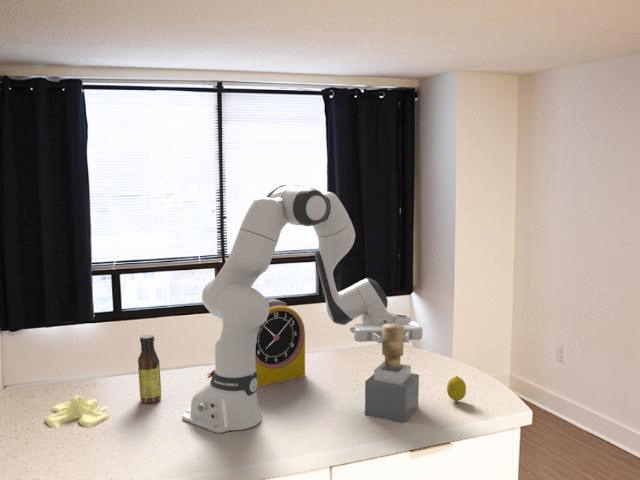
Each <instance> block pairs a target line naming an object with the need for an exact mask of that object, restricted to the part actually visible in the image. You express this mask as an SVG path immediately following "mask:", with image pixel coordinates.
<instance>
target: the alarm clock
mask: <svg viewBox="0 0 640 480" xmlns="http://www.w3.org/2000/svg"><path fill="white" fill-rule="evenodd" d="M267 301H268V303H269V314H268V317H267V319H266V321H265V322H264V323H263V324H262V325H261V326H260V328H259V331H258V335H257V340H256V369H257V387H261V386H264V385H265V386H266V385H269V384H274V383H279V382H283V381H287V379H288V380H291V378H292V379H296V378H300V376H301V377H304V375H306V331H305V330H306V329H305V325H304V322H303V319H302V317H301V316H300V315H299V314H298V312H297V311H296V310H294V309H292V308H291V307H288V306H287V303H286V302H284V301H281V300H279V299H274V298H269V299H267ZM295 377H296V378H295Z"/></svg>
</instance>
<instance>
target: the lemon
mask: <svg viewBox="0 0 640 480" xmlns="http://www.w3.org/2000/svg"><path fill="white" fill-rule="evenodd" d="M446 386H447V387H446V392H447V395H448V397H449V399H451V400H453V402H456V403H458V401H460V400H463V399H464V398H465V396H466V393H467V388H466V387H467V386H466V382H465V381H464V379H462V378H461V377H459V376H456V375H455V376H454V377H451V378H450V379H449V380H448V382H447V385H446Z"/></svg>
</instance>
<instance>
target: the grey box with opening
mask: <svg viewBox="0 0 640 480" xmlns="http://www.w3.org/2000/svg"><path fill="white" fill-rule="evenodd" d="M364 386H365V387H364V390H365V391H364V415H365V416H369V417H374V418H378V419H381V420H389V421H393V422H399V423H403V424H406V423H407V422H408V420H409V419H410V418H411V417H412V415H413V414H414V413H415V412H416V410H418V408H419V396H420V395H419V393H420V392H419V388H420V374H418V373H417V374H416V373H412V365H408V364H403V363H400V366H398V367H388V366H386V365H385V361H383V362H382V363H381V364H380V365H378V366H377V367H376V368H375V369H374V371H373V374H372V375H371V376H370V377H369V378H368V379H366V380H365V384H364Z"/></svg>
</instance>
